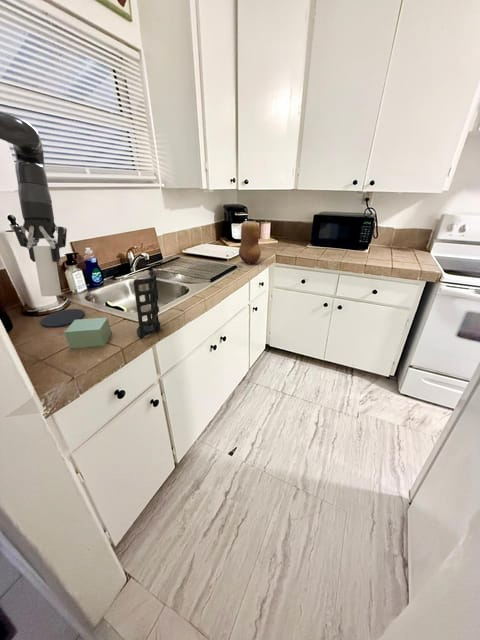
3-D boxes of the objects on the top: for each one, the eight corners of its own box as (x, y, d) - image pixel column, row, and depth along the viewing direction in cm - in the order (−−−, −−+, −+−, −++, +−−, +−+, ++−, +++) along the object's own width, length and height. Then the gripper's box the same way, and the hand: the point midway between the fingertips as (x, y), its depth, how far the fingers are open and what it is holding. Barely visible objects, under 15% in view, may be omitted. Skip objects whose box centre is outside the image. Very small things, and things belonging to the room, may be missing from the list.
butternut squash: (264, 262, 165) (266, 221, 153) (251, 267, 156) (252, 223, 144) (247, 259, 173) (248, 219, 161) (234, 263, 164) (233, 221, 152)
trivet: (33, 329, 91) (32, 327, 90) (52, 311, 103) (52, 310, 103) (76, 326, 92) (75, 324, 92) (90, 309, 105) (89, 307, 104)
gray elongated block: (44, 303, 83) (15, 272, 71) (57, 270, 90) (32, 237, 78) (61, 302, 83) (35, 272, 71) (72, 269, 91) (51, 237, 79)
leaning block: (70, 348, 80) (64, 332, 77) (80, 335, 87) (74, 319, 84) (104, 346, 81) (99, 329, 78) (111, 333, 88) (107, 317, 85)
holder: (141, 321, 94) (137, 268, 85) (163, 322, 95) (160, 270, 86) (133, 338, 85) (127, 280, 75) (157, 339, 86) (153, 282, 76)
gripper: (-1, 199, 72) (11, 262, 76) (55, 200, 73) (64, 261, 77) (18, 204, 79) (29, 261, 83) (68, 205, 81) (76, 261, 85)
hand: (46, 261), depth 80 cm, fingers closed on gray elongated block, 5 cm apart
